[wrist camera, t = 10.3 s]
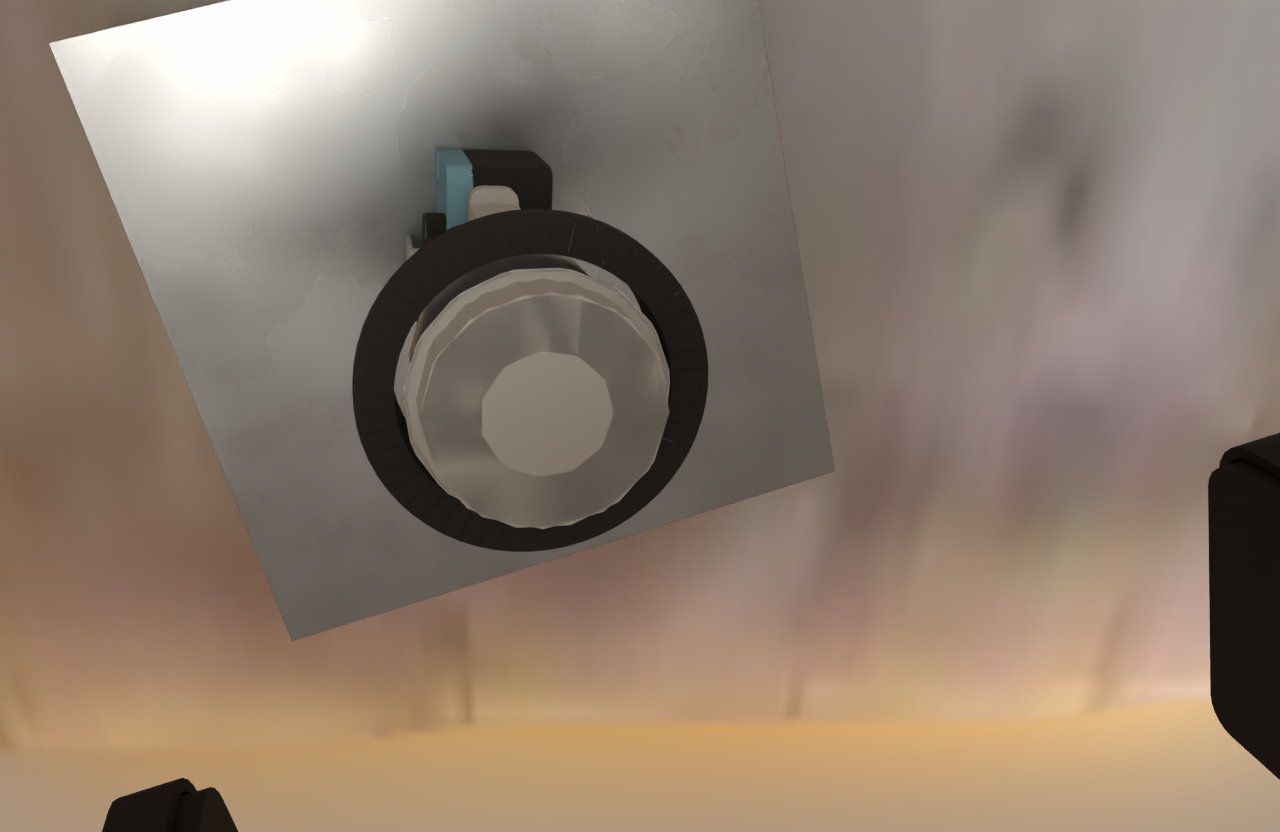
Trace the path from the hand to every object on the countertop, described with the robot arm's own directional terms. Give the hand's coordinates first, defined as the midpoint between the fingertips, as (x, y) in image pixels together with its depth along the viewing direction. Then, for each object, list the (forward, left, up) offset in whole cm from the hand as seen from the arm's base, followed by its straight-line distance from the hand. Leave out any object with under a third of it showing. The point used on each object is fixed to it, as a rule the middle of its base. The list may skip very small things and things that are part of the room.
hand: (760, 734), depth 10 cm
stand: (0, 0, -23) cm, 23 cm away
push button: (+1, 0, -17) cm, 17 cm away
